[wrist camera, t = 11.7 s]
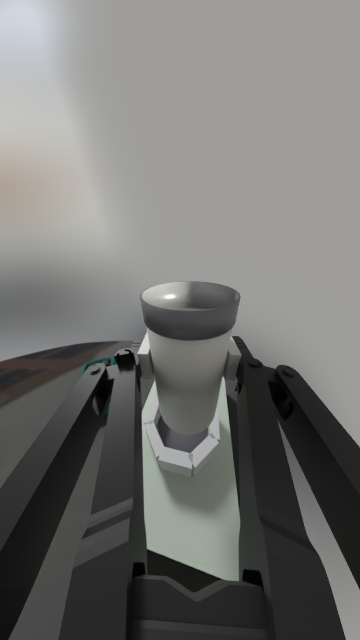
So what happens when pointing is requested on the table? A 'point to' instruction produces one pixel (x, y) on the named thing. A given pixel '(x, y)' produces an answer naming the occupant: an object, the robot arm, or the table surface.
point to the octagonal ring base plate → (191, 491)
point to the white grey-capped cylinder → (189, 348)
